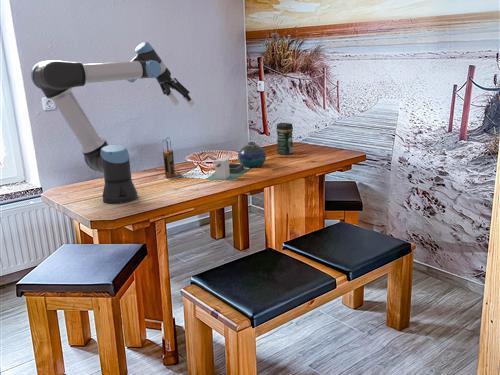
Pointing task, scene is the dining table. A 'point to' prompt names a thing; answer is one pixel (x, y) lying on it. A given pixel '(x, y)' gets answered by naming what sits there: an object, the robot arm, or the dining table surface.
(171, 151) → the multimeter
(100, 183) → the dining table surface
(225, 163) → the plug
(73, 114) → the robot arm
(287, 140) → the coffee jar
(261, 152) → the vase
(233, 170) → the board
